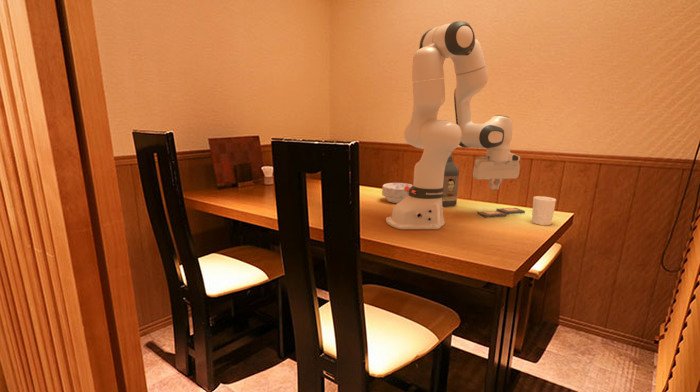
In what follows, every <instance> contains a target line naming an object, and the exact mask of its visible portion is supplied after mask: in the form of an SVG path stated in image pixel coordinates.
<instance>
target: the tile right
mask: <svg viewBox="0 0 700 392" xmlns="http://www.w3.org/2000/svg"><path fill="white" fill-rule="evenodd" d="M495 211H500V212H502V213H505V214H507V215H516V214H525V213H526V210H524V209H521V208H519V207H505V208H504V207H502V208H501V207H500V208H496V210H495Z"/></svg>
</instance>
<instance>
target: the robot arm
mask: <svg viewBox="0 0 700 392" xmlns="http://www.w3.org/2000/svg"><path fill="white" fill-rule="evenodd" d="M448 58H449V59H451V61H452V62H453V67H454V74H455V79H456V83H455V84H456V85H455V89H454V91H453V92H454V93H453V101H454V113H455V114H454V116H455V122H453V121H450V120H446V119H438V114H439V110H440V108H441V107H442V106H443V105H444V103H445V101H446V92H445V91H446V89H445V85H446V84H445V73H444V72H445V71H444V63H445V60H446V59H448ZM486 62H487V61H486V58H485V55H484V50H483V48H482V46H481V43H480V41H479V40H478V39H477V38H476V35H475V32H474V30H473V28H472V26H471V24H470V23H468V22H466V21H460V20H458V21H453V22H451V23H443V24H440V25H438V26H436V27H434V28H430V29H429V30H427V31H425V32H424V33H423V35H422V36H421V38H420V41H419V47H418V49H417V50H416V51H415V52H414V54H413V57H412V66H411V69H412V70H411V79H412V97H413V99H412V100H413V103H412V104H413V106H412V113H411V117H410V120H409V122H408V124H407V125H406V126H405V128H404V134H403V135H404V139H405V141H406V142H407V143H408V145H410V146H412V147H414V148H417V149H422V150H423V153H422V155H421V158H420V160H419V161H417V162H416V163H415V165H414V167H413V168H414V170H413V184H412V185H413V186H412V187H411V188H410V187H408V186H405V187H404V190H405V191H406V192H409V195H408V196H407V197H406V198H404V199H403V200H402V201H400V202H399V203H395V204H394V206H393V208H392V212H391V216H387V217H386V218H385V222H386V224H388V225H389V226H390V227H393V228H395V229H398V230H440V229H441V227H443V226H444V225H445V219H444V212H443V207H442V201H443V196H444V187H443V180H444V171H445V166H446V162H447V160H448V158H449V156H450V154H451V152H452V151H454V150H455V149H457V148H458V146H460V147H461V148H474V149H484V150H485V149H486V155H485V156H477V158H475V160H474V165H473V171H472V177H473V179H475V180H488V183H489V189H490V190H492V191H497V190H499V188H500V185H501V183H502V182H503V179H504V180H507V179H509V180H510V179H517V178H518V177H519V175H520V168H521V167H520V166H521V165H520V160H521V156H520V155H517V154H515V153H513V152H511V141H512V136H513V121H512V118H511V117H509V116H507V115H501V114H500V115H497V114H496V115H492V116H491V118H490V119H488V120H487V121H485V122H483V123H474V122H473V121H472V113H471V112H472V111H471V102H472V101H471V100H472V98H473V97H474V96H475V95H476V94H478V93H480V92H481V91H482V90H483V89H484V88H485V87H486V85H487V83H488V77H489V73H488V67H487V63H486Z"/></svg>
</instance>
